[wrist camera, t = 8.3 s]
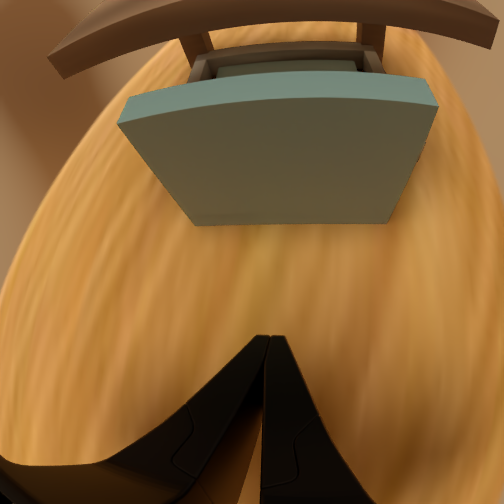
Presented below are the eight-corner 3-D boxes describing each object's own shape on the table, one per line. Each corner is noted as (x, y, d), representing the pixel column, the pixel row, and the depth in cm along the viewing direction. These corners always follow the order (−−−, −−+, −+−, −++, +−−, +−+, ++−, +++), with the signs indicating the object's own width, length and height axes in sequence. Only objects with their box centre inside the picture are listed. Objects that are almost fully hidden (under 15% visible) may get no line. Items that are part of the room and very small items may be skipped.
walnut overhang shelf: (425, 190, 16) (499, 20, 4) (157, 195, 19) (47, 56, 8) (375, 50, 21) (379, -59, 10) (198, 59, 24) (158, -40, 13)
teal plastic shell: (385, 224, 15) (439, 106, 7) (195, 226, 17) (116, 123, 9) (353, 74, 20) (355, -20, 12) (223, 80, 22) (193, -7, 14)
